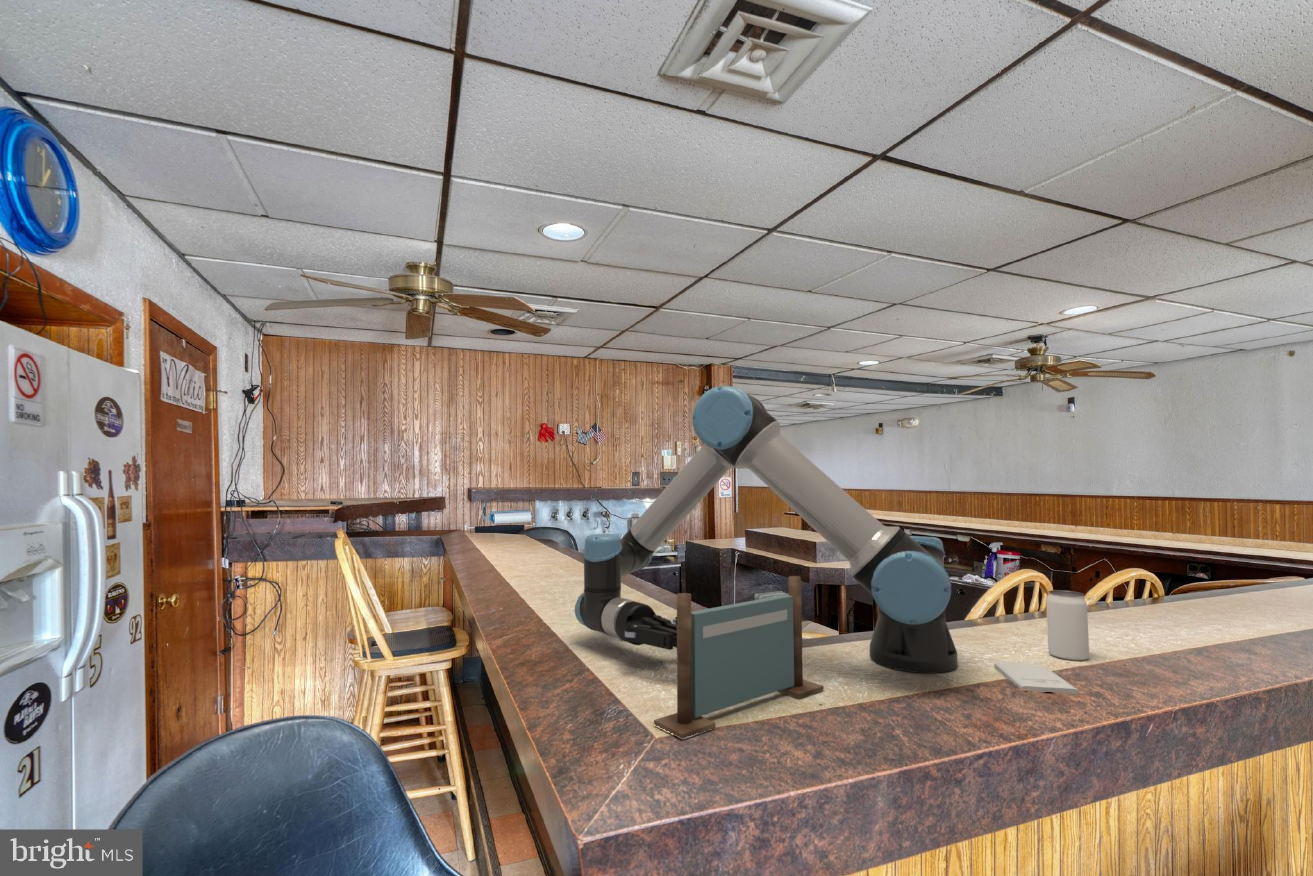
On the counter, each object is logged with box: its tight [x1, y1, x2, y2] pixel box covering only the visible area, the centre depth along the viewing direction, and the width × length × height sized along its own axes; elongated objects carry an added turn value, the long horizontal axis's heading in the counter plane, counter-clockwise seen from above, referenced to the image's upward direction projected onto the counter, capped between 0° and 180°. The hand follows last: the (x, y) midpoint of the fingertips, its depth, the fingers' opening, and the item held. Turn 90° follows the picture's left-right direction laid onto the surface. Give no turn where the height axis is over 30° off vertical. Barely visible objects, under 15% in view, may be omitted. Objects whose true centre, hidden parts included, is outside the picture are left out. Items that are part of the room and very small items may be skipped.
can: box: [1046, 589, 1090, 662], centre depth 116 cm, size 6×6×12 cm
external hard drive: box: [994, 662, 1079, 696], centre depth 102 cm, size 2×8×12 cm
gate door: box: [691, 594, 794, 718], centre depth 91 cm, size 21×2×14 cm, turn 128°
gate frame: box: [653, 575, 825, 738], centre depth 91 cm, size 30×6×18 cm, turn 128°
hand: (715, 648), depth 97 cm, fingers closed
